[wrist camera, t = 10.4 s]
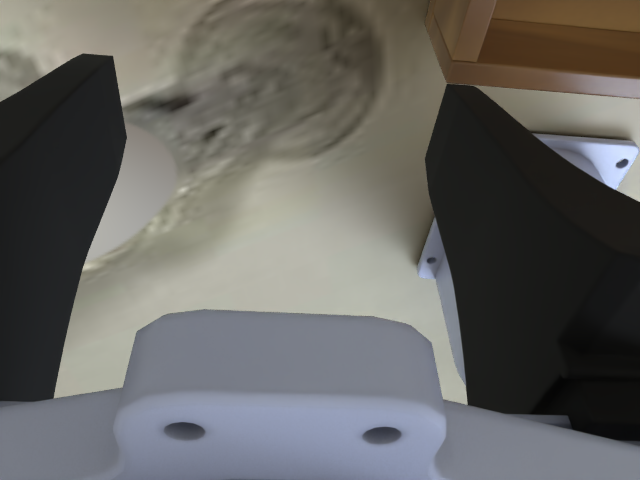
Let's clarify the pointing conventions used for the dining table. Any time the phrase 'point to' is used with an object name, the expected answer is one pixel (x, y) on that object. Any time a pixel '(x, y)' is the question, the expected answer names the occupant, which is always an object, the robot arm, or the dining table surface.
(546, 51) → the wooden box
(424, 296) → the dining table surface
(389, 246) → the dining table surface
